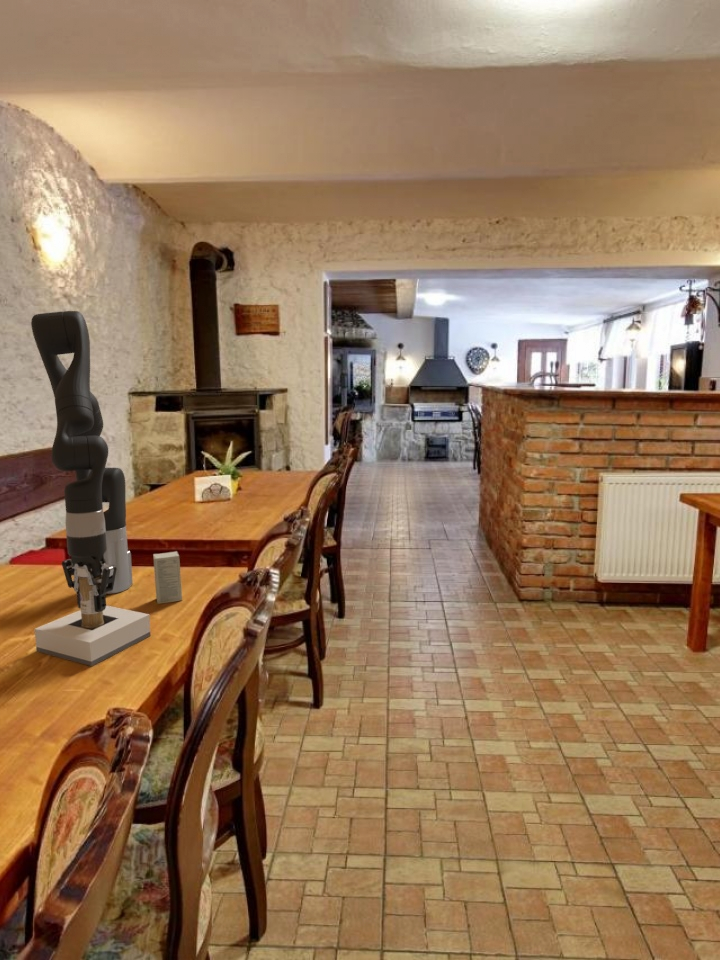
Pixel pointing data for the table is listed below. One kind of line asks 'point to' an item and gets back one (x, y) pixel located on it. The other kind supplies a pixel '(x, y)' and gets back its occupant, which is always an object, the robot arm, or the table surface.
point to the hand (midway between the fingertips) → (91, 608)
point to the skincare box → (167, 577)
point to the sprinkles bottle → (88, 602)
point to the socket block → (92, 635)
